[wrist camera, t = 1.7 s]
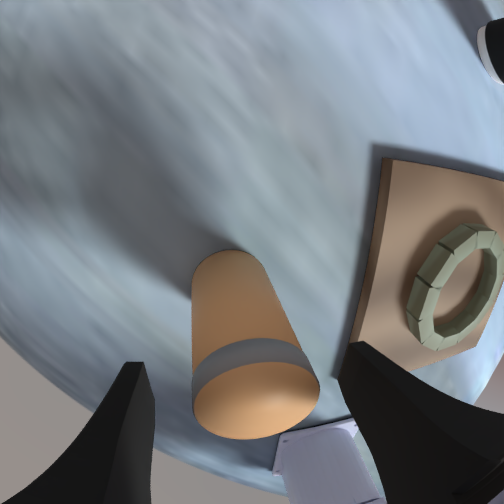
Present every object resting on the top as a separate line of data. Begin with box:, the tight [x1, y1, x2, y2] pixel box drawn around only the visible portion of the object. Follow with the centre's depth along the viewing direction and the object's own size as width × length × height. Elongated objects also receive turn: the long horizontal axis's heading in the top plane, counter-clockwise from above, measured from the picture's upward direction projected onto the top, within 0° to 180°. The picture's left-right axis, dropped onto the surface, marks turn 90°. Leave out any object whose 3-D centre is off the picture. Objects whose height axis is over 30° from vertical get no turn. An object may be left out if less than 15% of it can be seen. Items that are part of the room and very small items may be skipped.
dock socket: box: [338, 157, 504, 378], centre depth 18 cm, size 16×16×2 cm
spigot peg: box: [191, 250, 320, 439], centre depth 12 cm, size 4×4×8 cm
